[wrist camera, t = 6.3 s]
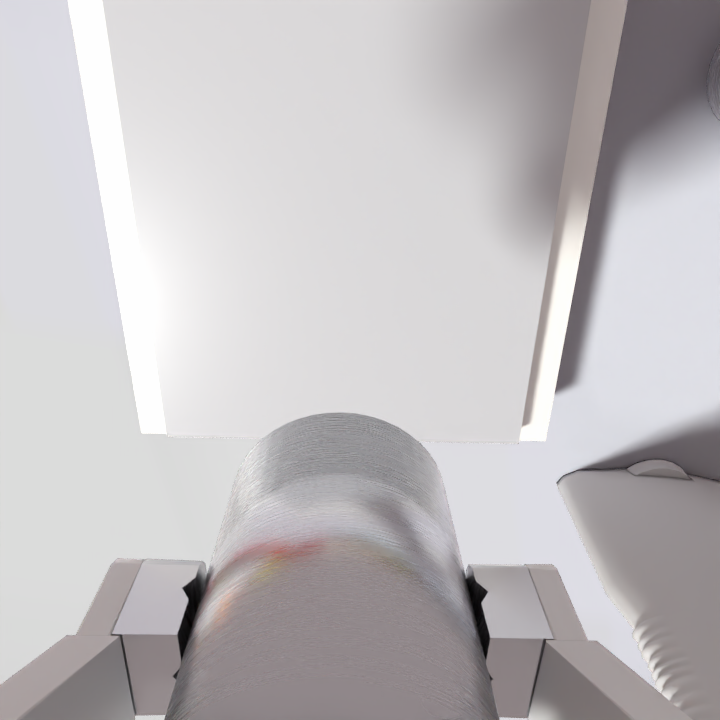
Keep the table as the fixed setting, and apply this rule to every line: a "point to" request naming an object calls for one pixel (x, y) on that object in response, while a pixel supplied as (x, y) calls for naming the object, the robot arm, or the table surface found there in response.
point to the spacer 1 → (335, 587)
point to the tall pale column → (658, 569)
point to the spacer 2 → (714, 83)
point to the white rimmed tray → (346, 204)
